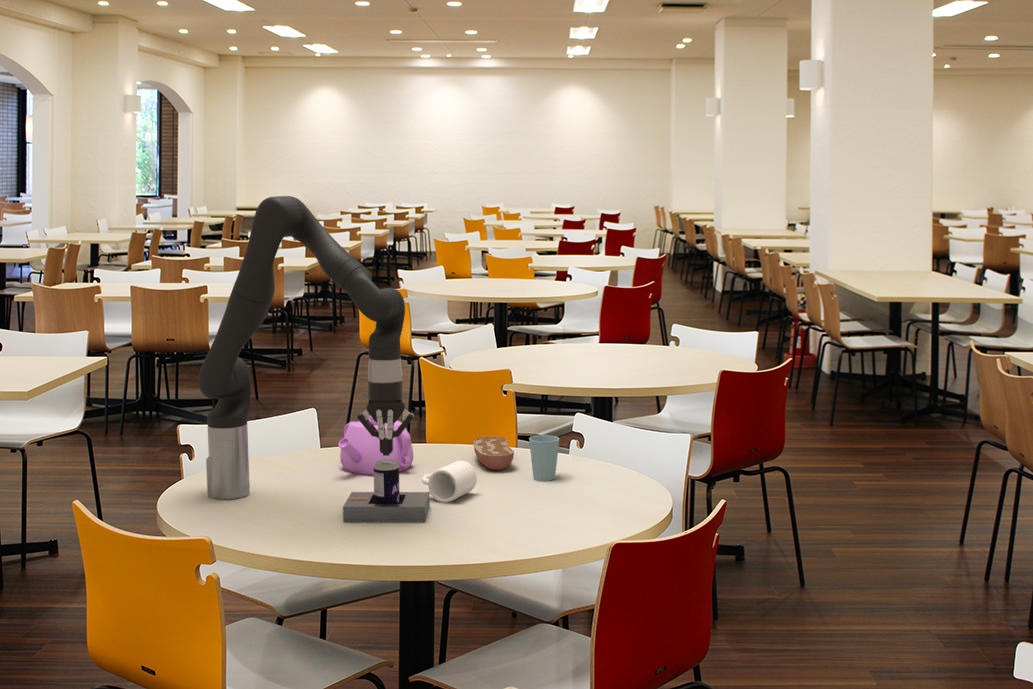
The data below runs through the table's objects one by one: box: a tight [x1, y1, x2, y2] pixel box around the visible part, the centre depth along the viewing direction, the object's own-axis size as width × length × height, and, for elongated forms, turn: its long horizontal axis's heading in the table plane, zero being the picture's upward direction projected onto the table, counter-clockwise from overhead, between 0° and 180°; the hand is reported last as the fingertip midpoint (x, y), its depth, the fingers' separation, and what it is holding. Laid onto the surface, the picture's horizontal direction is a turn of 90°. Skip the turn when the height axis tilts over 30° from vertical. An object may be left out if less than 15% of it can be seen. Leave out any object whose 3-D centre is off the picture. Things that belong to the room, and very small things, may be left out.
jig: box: [342, 491, 431, 523], centre depth 241 cm, size 18×12×4 cm, turn 90°
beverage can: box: [373, 460, 400, 504], centre depth 241 cm, size 6×6×12 cm
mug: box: [421, 460, 478, 504], centre depth 256 cm, size 12×10×8 cm
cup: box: [528, 434, 560, 482], centre depth 272 cm, size 8×8×10 cm
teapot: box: [337, 414, 414, 477], centre depth 281 cm, size 19×21×14 cm
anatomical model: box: [473, 435, 515, 471], centre depth 289 cm, size 23×10×5 cm, turn 7°
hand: (386, 454), depth 239 cm, fingers closed
